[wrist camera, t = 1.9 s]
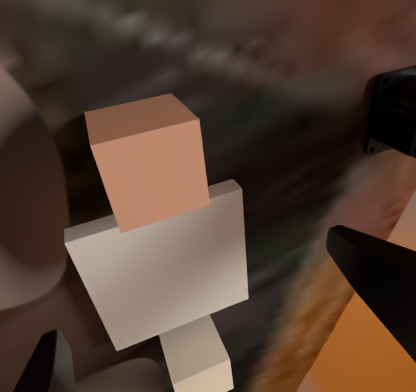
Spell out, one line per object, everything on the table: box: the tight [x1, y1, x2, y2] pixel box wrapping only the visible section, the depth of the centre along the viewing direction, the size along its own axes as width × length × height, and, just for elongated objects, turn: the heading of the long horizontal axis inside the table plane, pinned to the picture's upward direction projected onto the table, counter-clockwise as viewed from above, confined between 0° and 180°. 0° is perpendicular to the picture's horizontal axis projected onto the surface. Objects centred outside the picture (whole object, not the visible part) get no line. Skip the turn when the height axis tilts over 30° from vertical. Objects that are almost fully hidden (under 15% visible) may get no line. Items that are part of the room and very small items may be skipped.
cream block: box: [159, 314, 233, 392], centre depth 30 cm, size 5×5×5 cm
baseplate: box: [64, 179, 248, 351], centre depth 25 cm, size 12×12×2 cm
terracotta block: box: [84, 94, 210, 233], centre depth 18 cm, size 5×5×5 cm
